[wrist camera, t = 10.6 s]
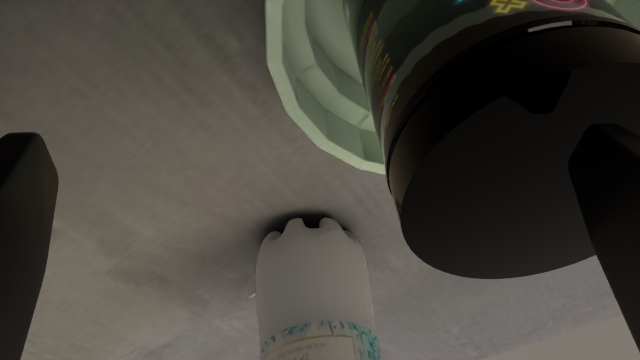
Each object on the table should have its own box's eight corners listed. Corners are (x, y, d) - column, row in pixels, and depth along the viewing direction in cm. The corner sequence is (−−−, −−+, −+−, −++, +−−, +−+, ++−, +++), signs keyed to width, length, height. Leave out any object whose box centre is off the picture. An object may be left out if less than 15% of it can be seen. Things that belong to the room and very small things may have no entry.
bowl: (265, 111, 22) (269, 183, 19) (257, -265, 13) (259, -245, 10) (531, 106, 24) (574, 173, 21) (686, -236, 15) (804, -210, 12)
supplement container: (533, 22, 20) (699, 227, 12) (374, 88, 21) (440, 306, 14) (508, -162, 15) (749, -5, 8) (307, -60, 17) (353, 150, 9)
